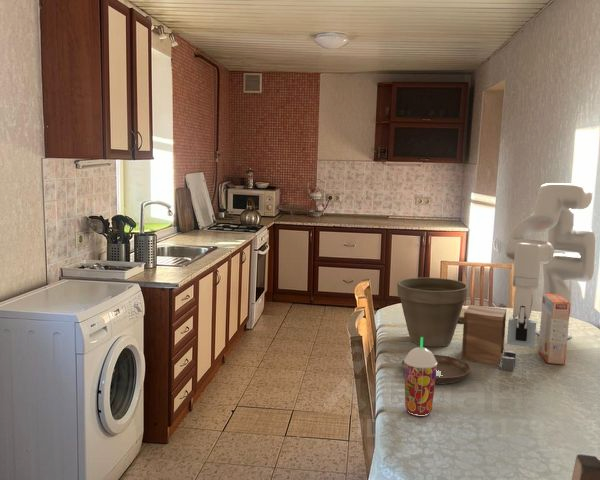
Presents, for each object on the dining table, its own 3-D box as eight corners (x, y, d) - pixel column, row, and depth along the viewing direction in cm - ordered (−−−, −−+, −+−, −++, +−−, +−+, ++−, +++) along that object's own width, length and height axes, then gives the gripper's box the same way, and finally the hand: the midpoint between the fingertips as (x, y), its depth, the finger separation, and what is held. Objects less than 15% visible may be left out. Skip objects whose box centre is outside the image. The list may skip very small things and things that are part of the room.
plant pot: (388, 346, 200) (390, 286, 197) (402, 328, 223) (404, 274, 220) (460, 356, 191) (464, 293, 188) (468, 336, 213) (471, 280, 211)
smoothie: (398, 405, 149) (401, 332, 147) (428, 405, 150) (432, 332, 147) (406, 419, 141) (410, 342, 138) (439, 419, 142) (443, 342, 139)
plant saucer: (394, 381, 167) (395, 370, 167) (407, 360, 186) (408, 350, 186) (466, 392, 160) (467, 381, 159) (472, 369, 179) (473, 359, 179)
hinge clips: (501, 361, 186) (502, 350, 185) (515, 363, 184) (516, 352, 183) (498, 369, 178) (499, 357, 178) (513, 371, 177) (514, 359, 176)
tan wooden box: (467, 349, 198) (469, 304, 196) (503, 354, 193) (506, 309, 191) (461, 359, 187) (464, 312, 185) (499, 365, 182) (502, 317, 180)
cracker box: (566, 365, 183) (571, 302, 181) (546, 363, 185) (551, 301, 182) (555, 352, 197) (560, 293, 194) (537, 350, 198) (542, 292, 196)
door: (507, 341, 182) (509, 317, 181) (534, 345, 178) (536, 320, 177) (506, 344, 179) (508, 319, 178) (534, 348, 175) (535, 323, 174)
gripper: (514, 276, 185) (511, 331, 187) (510, 285, 170) (506, 344, 172) (539, 279, 182) (535, 334, 184) (537, 287, 167) (532, 347, 169)
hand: (521, 338), depth 178 cm, fingers closed on door, 3 cm apart
